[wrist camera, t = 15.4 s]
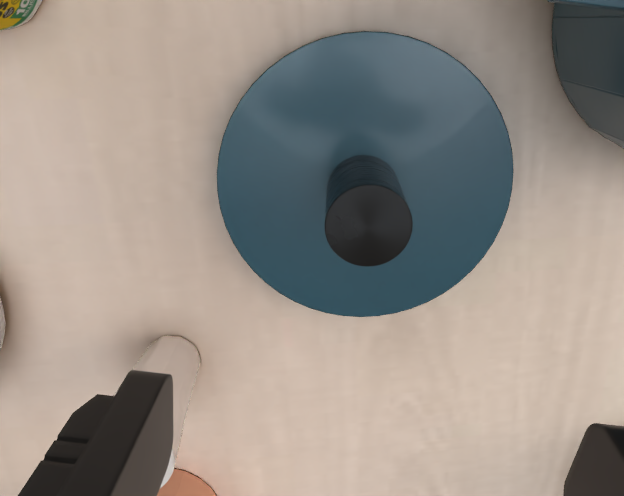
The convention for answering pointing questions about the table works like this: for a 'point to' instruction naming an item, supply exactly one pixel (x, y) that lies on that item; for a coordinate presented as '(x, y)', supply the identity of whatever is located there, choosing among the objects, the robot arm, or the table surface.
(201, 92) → the table surface
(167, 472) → the milkshake
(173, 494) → the pepper shaker
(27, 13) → the supplement bottle
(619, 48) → the pot
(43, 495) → the robot arm
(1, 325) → the ramekin
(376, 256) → the lid
